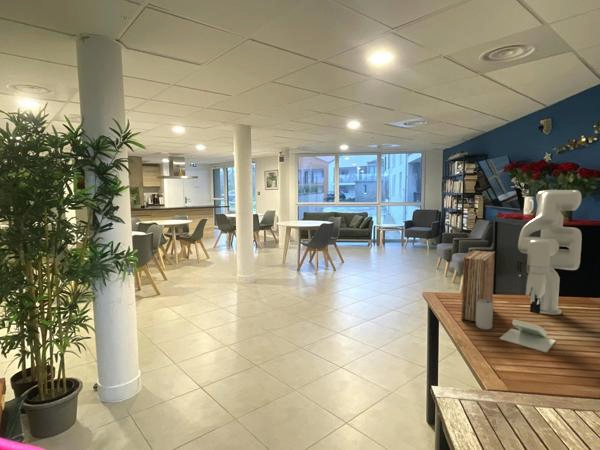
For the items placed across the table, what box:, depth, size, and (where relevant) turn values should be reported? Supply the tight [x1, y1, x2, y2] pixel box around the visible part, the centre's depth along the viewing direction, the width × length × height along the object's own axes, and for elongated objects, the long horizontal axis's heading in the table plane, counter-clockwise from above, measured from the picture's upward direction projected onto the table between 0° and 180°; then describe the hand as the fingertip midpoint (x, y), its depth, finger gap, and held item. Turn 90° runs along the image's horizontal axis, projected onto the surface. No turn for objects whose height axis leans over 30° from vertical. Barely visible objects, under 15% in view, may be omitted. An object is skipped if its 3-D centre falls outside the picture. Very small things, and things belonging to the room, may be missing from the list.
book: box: [460, 248, 496, 323], centre depth 167 cm, size 25×9×30 cm, turn 143°
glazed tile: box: [512, 319, 548, 338], centre depth 140 cm, size 2×9×14 cm
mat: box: [499, 328, 557, 353], centre depth 139 cm, size 14×16×1 cm
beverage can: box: [475, 299, 494, 331], centre depth 151 cm, size 6×6×12 cm
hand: (535, 312), depth 144 cm, fingers closed
